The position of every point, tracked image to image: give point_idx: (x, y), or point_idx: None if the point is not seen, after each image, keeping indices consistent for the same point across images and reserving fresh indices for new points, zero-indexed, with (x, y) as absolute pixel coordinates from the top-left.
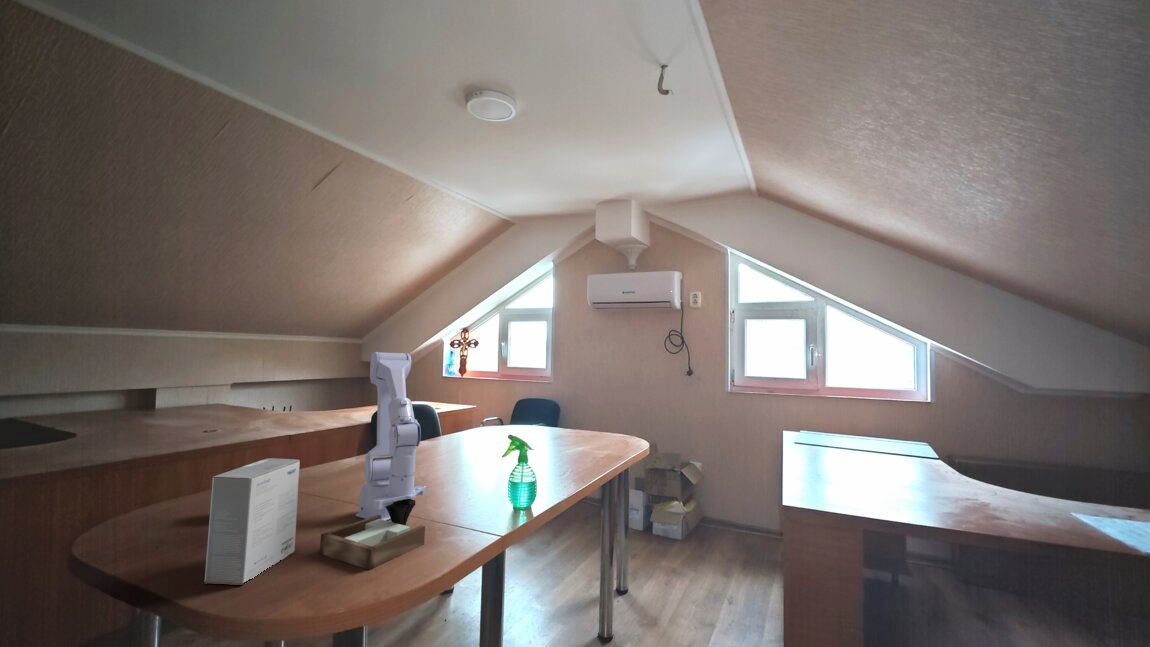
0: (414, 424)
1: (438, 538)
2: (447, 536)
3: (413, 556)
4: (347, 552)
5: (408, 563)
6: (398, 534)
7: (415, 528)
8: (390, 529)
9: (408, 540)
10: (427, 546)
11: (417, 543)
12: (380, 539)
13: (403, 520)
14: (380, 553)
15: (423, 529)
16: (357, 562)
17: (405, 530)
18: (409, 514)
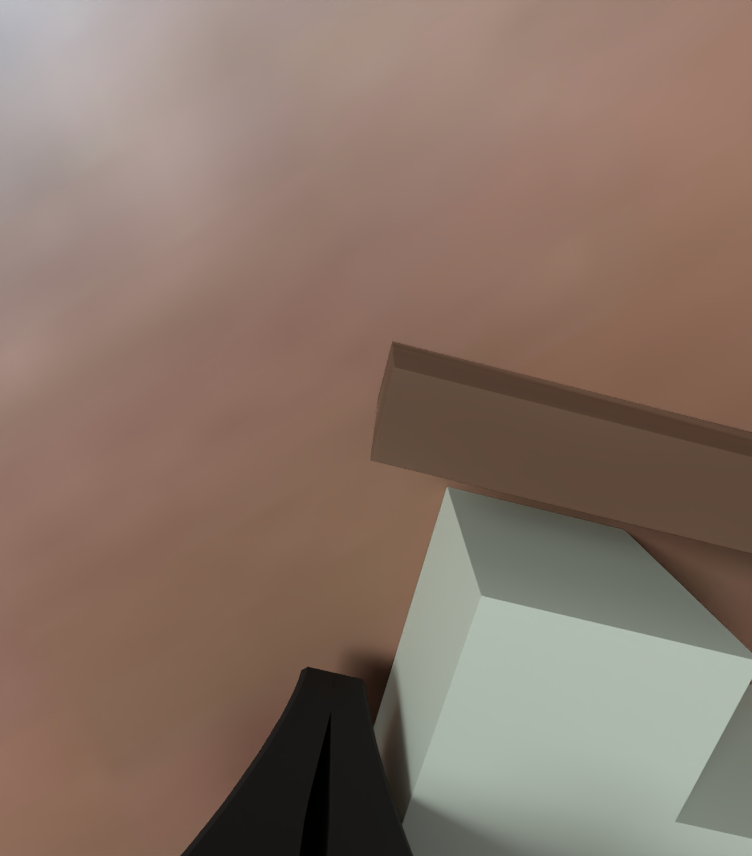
0: None
1: (179, 266)
2: (79, 186)
3: (731, 279)
4: None
5: None
6: (694, 625)
7: (536, 480)
8: (654, 792)
9: (706, 434)
10: (434, 271)
11: (505, 373)
12: (713, 754)
13: (336, 801)
14: None
15: (428, 371)
16: None
17: (573, 603)
18: (197, 842)
